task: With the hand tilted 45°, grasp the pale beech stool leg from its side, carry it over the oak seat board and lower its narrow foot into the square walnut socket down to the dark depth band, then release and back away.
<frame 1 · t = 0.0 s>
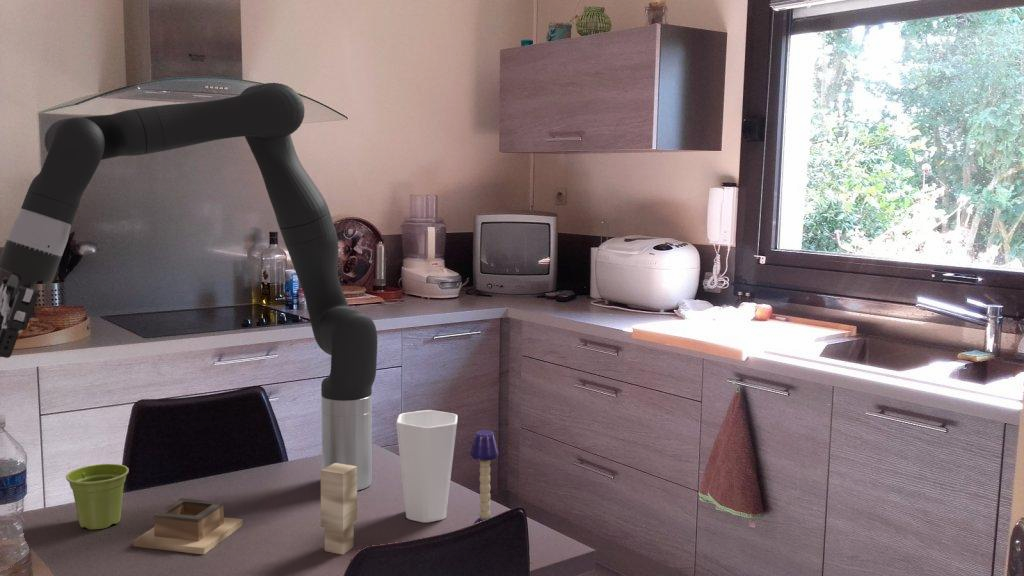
cup: (426, 516, 155), on the table
plant pot: (99, 524, 149), on the table
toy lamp: (483, 531, 149), on the table
leg peg: (339, 548, 140), on the table
seat board: (189, 535, 144), on the table
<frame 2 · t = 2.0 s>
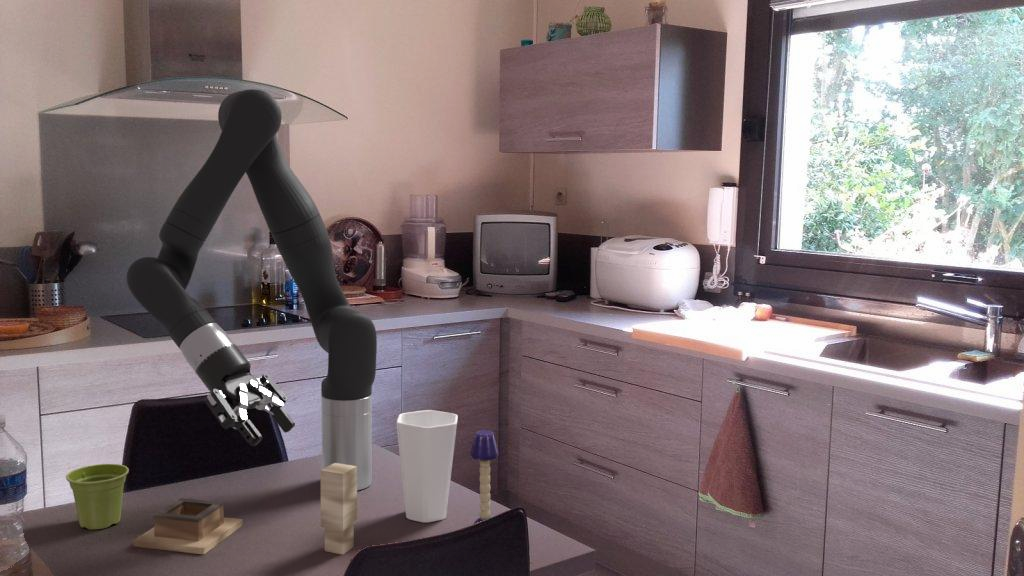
hand: (274, 435, 143), 17 cm above the table, tool tilted 45°, fingers open, 8 cm apart
nothing on the table moved.
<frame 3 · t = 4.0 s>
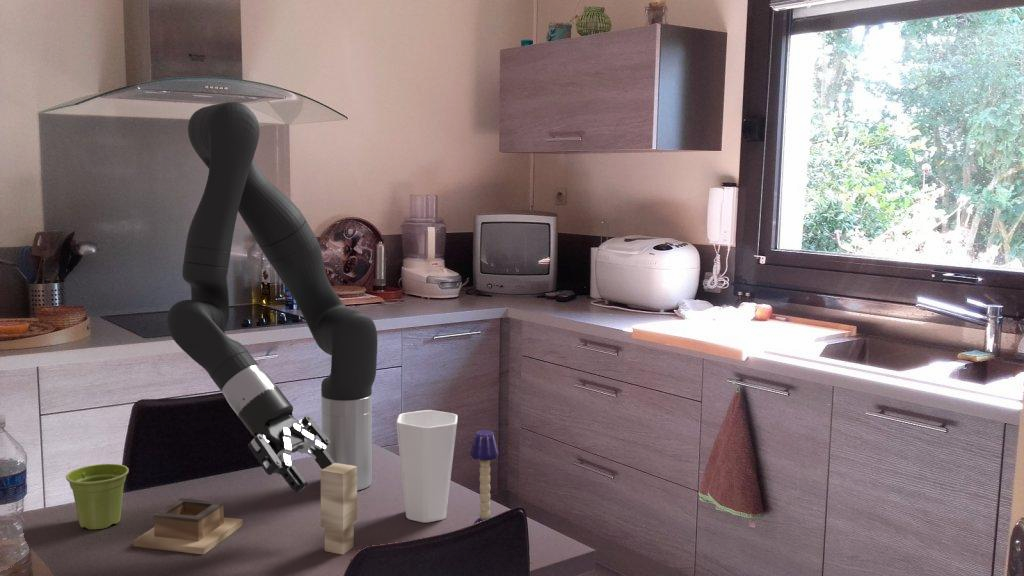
hand: (318, 480, 140), 11 cm above the table, tool tilted 45°, fingers open, 8 cm apart
nothing on the table moved.
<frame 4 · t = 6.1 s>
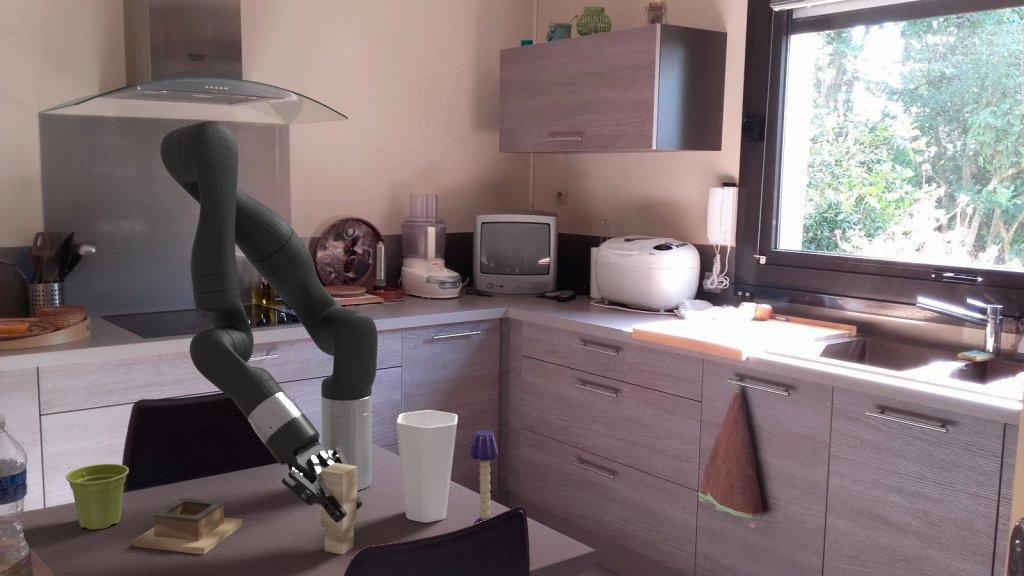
hand: (350, 513, 139), 6 cm above the table, tool tilted 45°, fingers closed on leg peg, 4 cm apart
leg peg: (339, 548, 140), on the table, touching gripper
everything else where it was.
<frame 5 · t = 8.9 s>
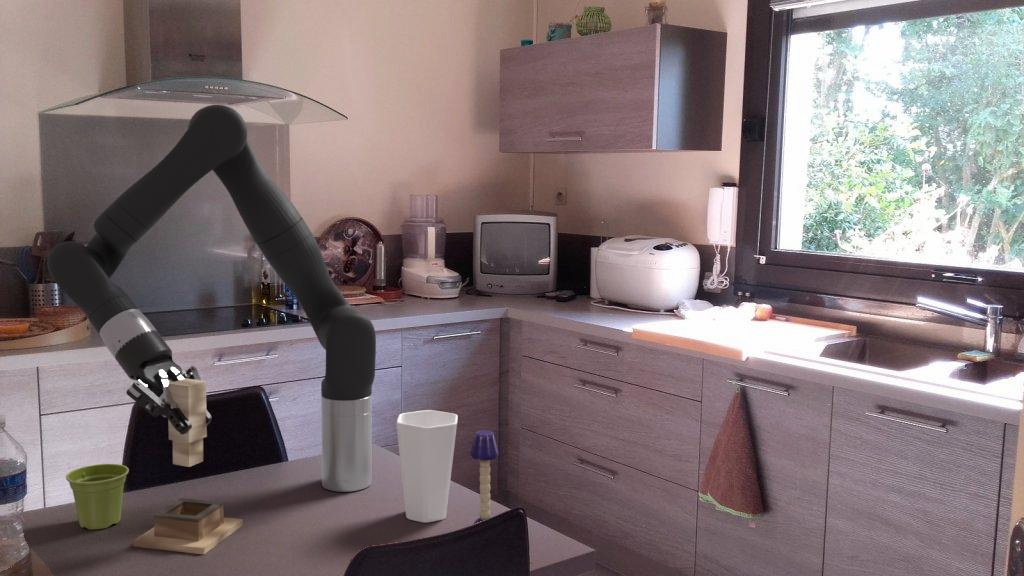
hand: (197, 426, 141), 18 cm above the table, tool tilted 45°, fingers closed on leg peg, 4 cm apart
leg peg: (188, 462, 143), point 12 cm above the table, touching gripper
everything else where it was.
when the fingers open (8 cm above the table, at t = 11.6 s): leg peg drops 1 cm, resting on seat board.
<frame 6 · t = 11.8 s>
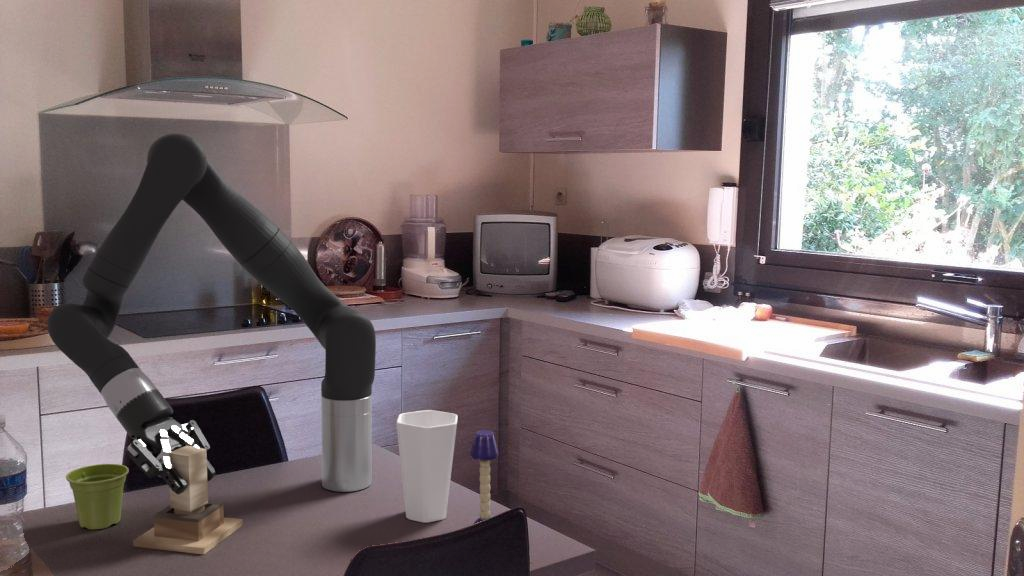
hand: (197, 484, 143), 9 cm above the table, tool tilted 45°, fingers open, 6 cm apart
leg peg: (190, 529, 144), point 1 cm above the table, touching seat board
everything else where it was.
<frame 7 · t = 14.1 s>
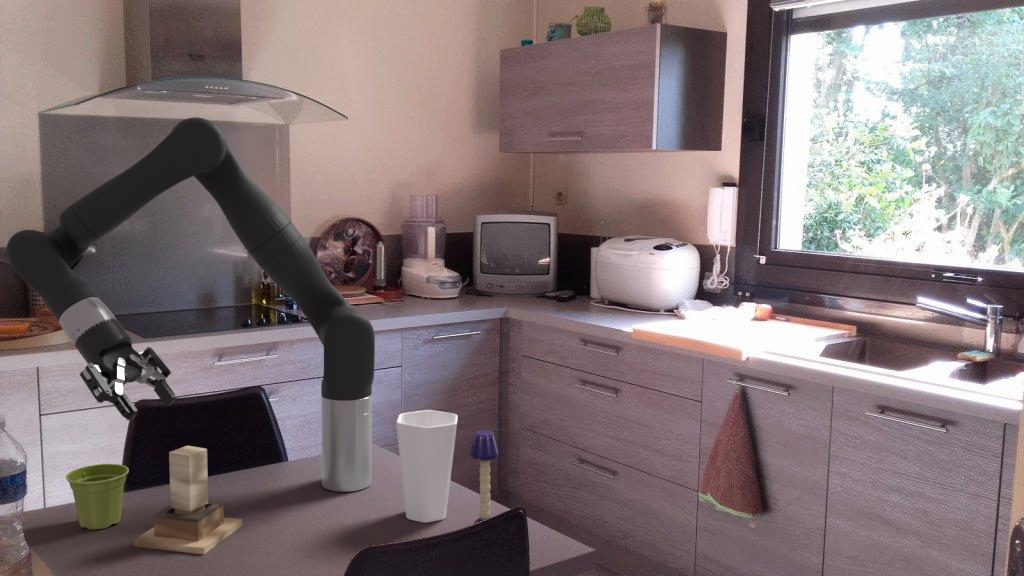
hand: (153, 409, 145), 20 cm above the table, tool tilted 45°, fingers open, 8 cm apart
nothing on the table moved.
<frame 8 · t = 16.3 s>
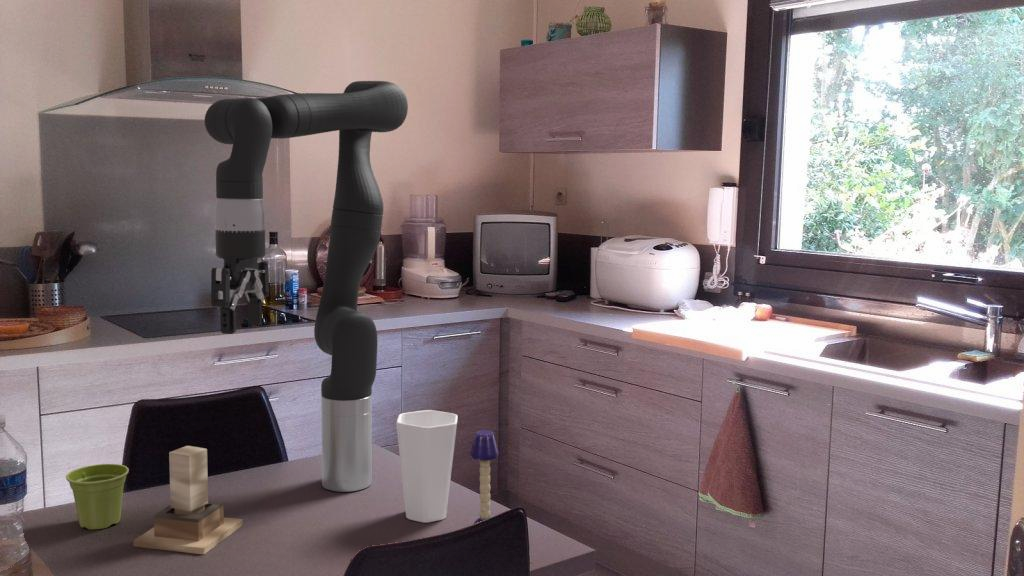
hand: (242, 329, 144), 33 cm above the table, tool pointing down, fingers open, 8 cm apart
nothing on the table moved.
at the end: leg peg 0.1 cm off-centre on the seat board, point 1.0 cm above the seat board's base; leg peg tilted 0°; the gripper is holding nothing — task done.
